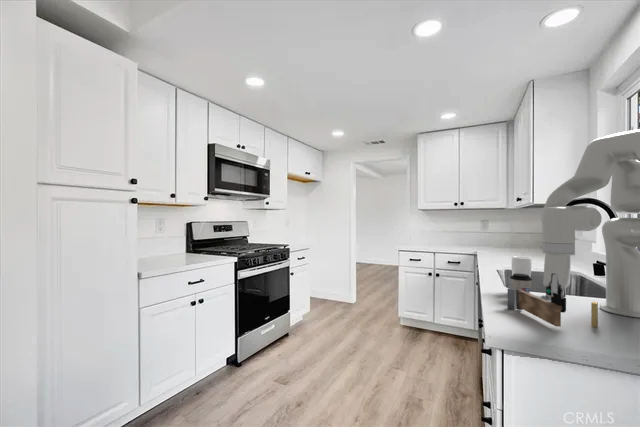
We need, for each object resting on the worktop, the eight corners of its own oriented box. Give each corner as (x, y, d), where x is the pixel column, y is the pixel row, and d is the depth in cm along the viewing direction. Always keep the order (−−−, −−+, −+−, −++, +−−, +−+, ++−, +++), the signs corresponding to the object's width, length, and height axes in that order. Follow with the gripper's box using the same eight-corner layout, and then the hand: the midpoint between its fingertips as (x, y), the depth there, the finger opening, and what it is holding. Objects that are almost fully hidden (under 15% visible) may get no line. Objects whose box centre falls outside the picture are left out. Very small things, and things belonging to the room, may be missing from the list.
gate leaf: (515, 308, 103) (515, 289, 103) (520, 308, 103) (520, 289, 103) (555, 329, 84) (555, 306, 84) (562, 329, 84) (562, 306, 84)
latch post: (592, 325, 89) (592, 301, 89) (597, 326, 88) (597, 302, 88) (591, 326, 87) (591, 302, 87) (596, 327, 87) (596, 303, 87)
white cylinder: (534, 296, 119) (534, 258, 119) (515, 295, 120) (515, 258, 120) (526, 292, 126) (526, 256, 126) (508, 291, 127) (508, 256, 127)
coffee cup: (505, 299, 115) (505, 273, 115) (519, 297, 117) (519, 272, 117) (522, 304, 108) (522, 277, 108) (536, 303, 110) (536, 276, 110)
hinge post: (509, 307, 105) (509, 287, 105) (515, 309, 104) (515, 288, 104) (507, 308, 104) (507, 288, 104) (514, 310, 102) (514, 289, 102)
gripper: (548, 245, 96) (549, 302, 96) (535, 250, 86) (536, 313, 86) (579, 247, 90) (579, 308, 90) (569, 252, 80) (570, 320, 80)
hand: (558, 310), depth 88 cm, fingers closed
